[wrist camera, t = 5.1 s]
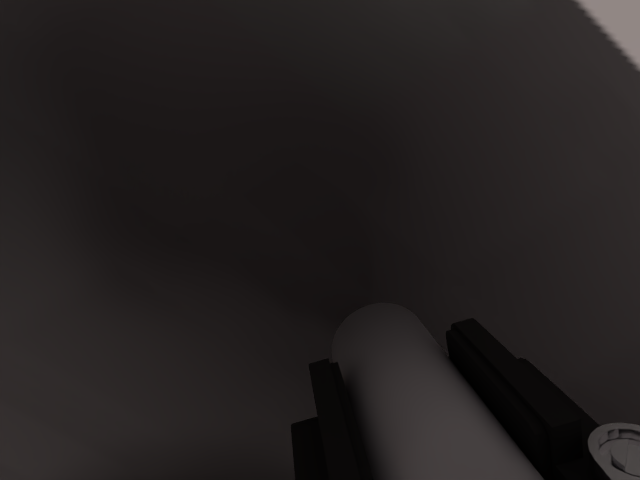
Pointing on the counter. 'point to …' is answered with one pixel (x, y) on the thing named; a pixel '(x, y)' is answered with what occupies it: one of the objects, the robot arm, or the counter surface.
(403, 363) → the marker
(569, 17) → the counter surface
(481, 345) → the robot arm
